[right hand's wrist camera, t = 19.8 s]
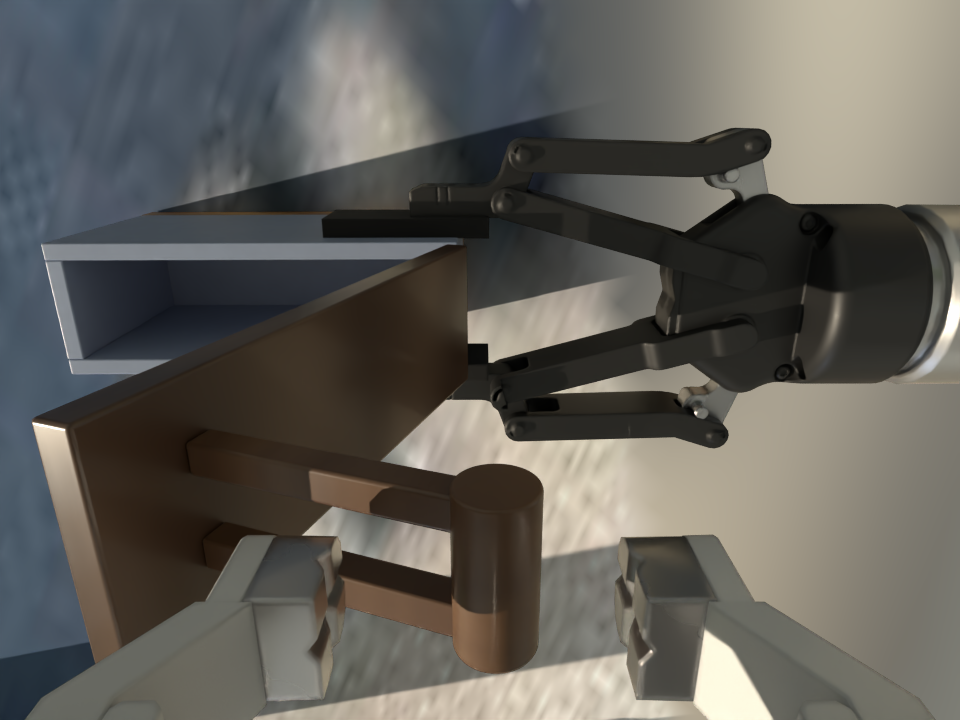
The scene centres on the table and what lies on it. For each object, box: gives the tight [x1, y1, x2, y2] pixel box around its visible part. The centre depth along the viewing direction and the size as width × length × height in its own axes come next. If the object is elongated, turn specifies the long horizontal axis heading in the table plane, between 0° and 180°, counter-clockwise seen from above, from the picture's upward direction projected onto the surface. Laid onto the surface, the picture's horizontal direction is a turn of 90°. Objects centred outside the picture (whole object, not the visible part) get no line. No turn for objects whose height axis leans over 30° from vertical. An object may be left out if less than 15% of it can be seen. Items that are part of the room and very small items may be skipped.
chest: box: [41, 212, 464, 374], centre depth 30 cm, size 16×5×9 cm, turn 90°
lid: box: [32, 244, 544, 674], centre depth 17 cm, size 16×5×8 cm
